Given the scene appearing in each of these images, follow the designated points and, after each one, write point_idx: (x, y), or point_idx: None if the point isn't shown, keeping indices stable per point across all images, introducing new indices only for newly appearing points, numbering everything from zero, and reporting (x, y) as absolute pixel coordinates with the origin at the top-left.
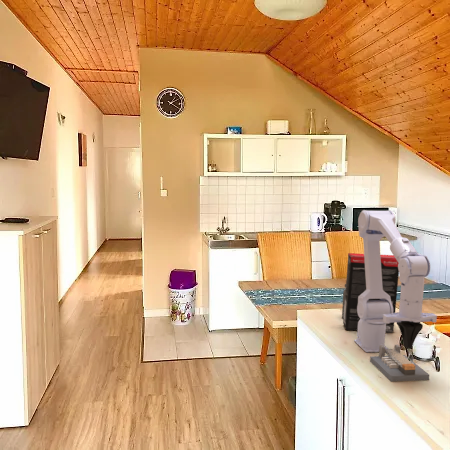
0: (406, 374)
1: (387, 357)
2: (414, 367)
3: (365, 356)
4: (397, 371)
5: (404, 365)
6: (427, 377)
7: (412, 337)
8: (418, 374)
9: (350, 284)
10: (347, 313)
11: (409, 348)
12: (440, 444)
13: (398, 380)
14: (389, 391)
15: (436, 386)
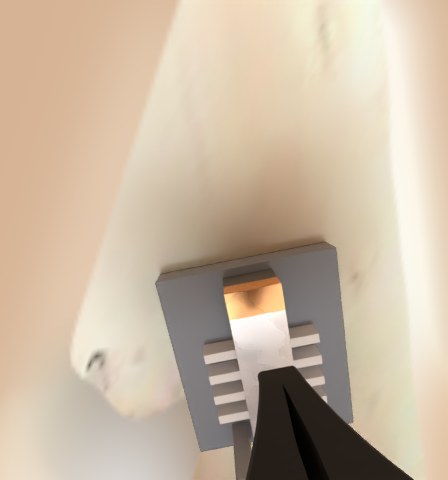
0: (262, 270)
1: None
2: (228, 291)
3: None
4: (290, 297)
5: (280, 294)
6: (166, 276)
7: (297, 450)
8: (205, 279)
9: None
10: None
11: (276, 369)
12: None
13: (294, 249)
14: (366, 151)
15: (147, 219)
